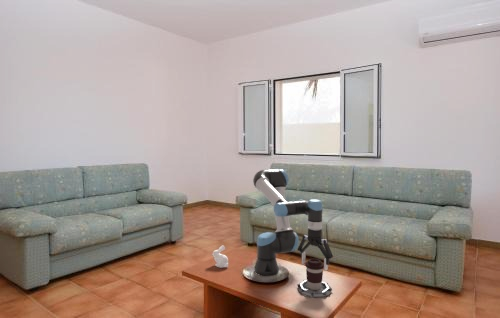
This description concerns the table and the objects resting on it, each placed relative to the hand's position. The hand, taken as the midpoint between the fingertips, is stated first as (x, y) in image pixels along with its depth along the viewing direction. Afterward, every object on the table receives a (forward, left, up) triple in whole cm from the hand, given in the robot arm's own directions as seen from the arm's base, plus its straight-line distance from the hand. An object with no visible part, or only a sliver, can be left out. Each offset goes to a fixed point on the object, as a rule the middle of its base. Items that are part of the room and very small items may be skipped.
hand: (314, 267), depth 174 cm
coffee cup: (0, 0, -12) cm, 12 cm away
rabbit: (-64, -9, -13) cm, 66 cm away
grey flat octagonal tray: (0, 0, -13) cm, 13 cm away
